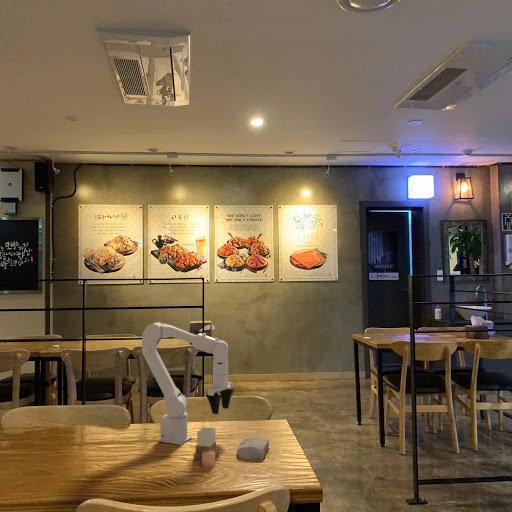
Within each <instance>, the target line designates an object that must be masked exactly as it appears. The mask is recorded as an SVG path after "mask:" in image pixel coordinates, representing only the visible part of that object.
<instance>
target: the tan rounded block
mask: <svg viewBox="0 0 512 512" xmlns="http://www.w3.org/2000/svg"><path fill="white" fill-rule="evenodd" d="M201 466H202V468H204V469H213V468H215V466H216V459H215V452H214V451H211V450H208V451H204V452H202V461H201Z"/></svg>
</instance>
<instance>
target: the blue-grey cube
mask: <svg viewBox="0 0 512 512" xmlns="http://www.w3.org/2000/svg"><path fill="white" fill-rule="evenodd" d="M196 439H197V440H196V442H197V443H196V445H197V446H206V447H210V446H212V445H213V444H214V443H215V442H216V428H212V427H201V428H200V429H199V430H197V431H196Z"/></svg>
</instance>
